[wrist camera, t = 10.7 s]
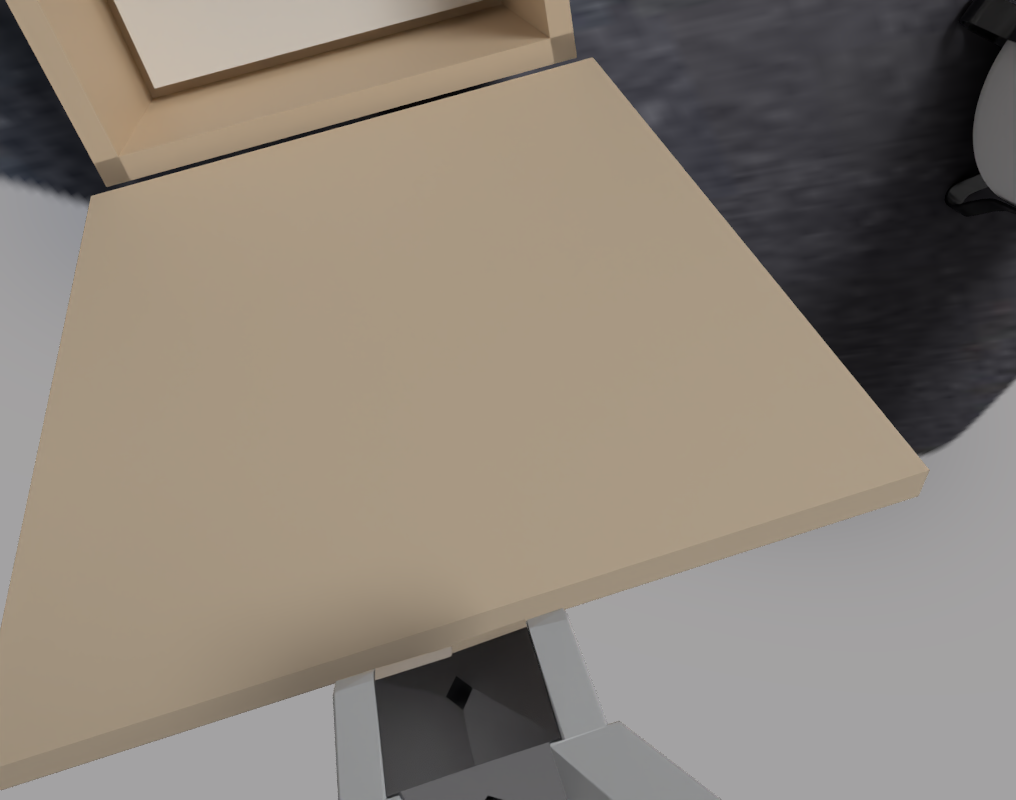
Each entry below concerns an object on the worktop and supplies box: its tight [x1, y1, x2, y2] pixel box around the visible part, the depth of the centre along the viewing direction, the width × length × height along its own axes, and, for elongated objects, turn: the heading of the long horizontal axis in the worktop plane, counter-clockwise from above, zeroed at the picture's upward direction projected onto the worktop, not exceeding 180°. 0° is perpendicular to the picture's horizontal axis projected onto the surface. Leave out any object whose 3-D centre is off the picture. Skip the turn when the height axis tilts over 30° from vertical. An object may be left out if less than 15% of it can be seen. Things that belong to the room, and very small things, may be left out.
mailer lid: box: [0, 57, 929, 790], centre depth 19 cm, size 18×17×1 cm
